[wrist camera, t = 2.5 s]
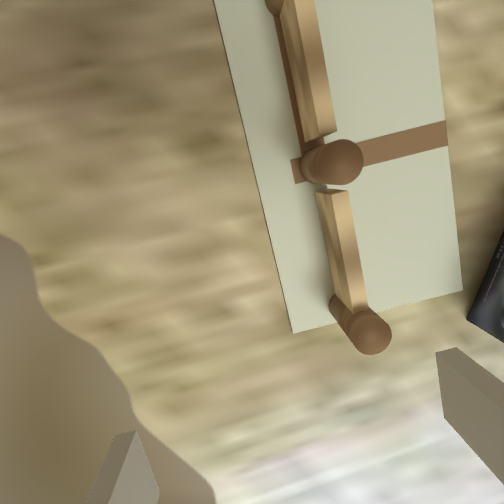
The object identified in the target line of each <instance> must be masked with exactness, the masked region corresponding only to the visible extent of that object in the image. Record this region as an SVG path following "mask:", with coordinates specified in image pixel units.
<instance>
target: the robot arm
mask: <svg viewBox="0 0 504 504" xmlns="http://www.w3.org/2000/svg"><path fill="white" fill-rule="evenodd" d="M435 354H436V361H437V368H438V376H439V383H440V391H441V398H442V406H443V413H444V418H445V419H446V420H447V421H448V423H449V424H450V425H451V426H452V427H453V428H454V429H455V430H456V432H457V433H458V434H459V435H460V436H461V437H462V438H463V439H464V441H465V442H466V443H467V444H468V445H469V446H470V447H471V448H472V450H473V451H474V452H475V453H476V454H477V455H478V456H479V457H480V459H481V460H482V461H483V462H484V463H485V464H486V465H487V466H488V468H489V469H490V470H491V471H492V472H493V473H494V474H495V475H496V477H497V478H498V479H499V480H500V481H501V482H502V483H503V484H504V383H503V382H502V381H500V380H499V379H498V378H496V377H495V376H494V375H492V374H491V373H490V372H488V371H487V370H486V369H484V368H483V367H482V366H480V365H479V364H478V363H476V362H475V361H474V360H472V359H471V358H470V357H468V356H467V355H466V354H464V353H463V352H462V351H460V350H459V349H458V348H452V349H448V350H444V351H440V352H436V353H435ZM159 493H160V490H159V488H158V485H157V483H156V480H155V477H154V475H153V472H152V470H151V467H150V464H149V462H148V459H147V457H146V454H145V452H144V449H143V446H142V444H141V441H140V438H139V436H138V433H137V431H136V430H134V431H130V432H126V433H122V434H119V435H115V437H114V439H113V441H112V443H111V446H110V448H109V450H108V453H107V455H106V457H105V459H104V461H103V463H102V466H101V468H100V470H99V472H98V474H97V477H96V479H95V481H94V483H93V486H92V488H91V490H90V492H89V495H88V497H87V499H86V501H85V503H84V504H157V501H158V497H159Z"/></svg>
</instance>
